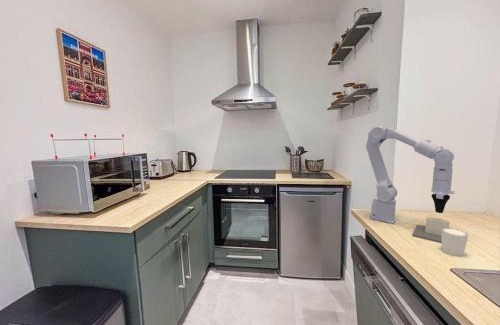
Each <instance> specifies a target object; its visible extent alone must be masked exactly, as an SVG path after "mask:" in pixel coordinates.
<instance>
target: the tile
mask: <svg viewBox="0 0 500 325" xmlns="http://www.w3.org/2000/svg"><path fill="white" fill-rule="evenodd" d="M450 222H451V220H448V219H443V218H442V219H441V218H436V217H430V216H426V218H425V232H427V233H431V234H436V235H440V236H441V229H443V228H450Z"/></svg>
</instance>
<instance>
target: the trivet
mask: <svg viewBox="0 0 500 325" xmlns="http://www.w3.org/2000/svg"><path fill="white" fill-rule="evenodd" d="M425 226H426V225H425ZM425 226H424V225H421V224H416V225H415V228H414V230H413V232H412V234H411V237H415V238H419V239H423V240H428V241H432V242H435V243H440V244H442V236H440V235H436V234H431V233H427V232H425Z"/></svg>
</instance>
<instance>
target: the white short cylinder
mask: <svg viewBox="0 0 500 325" xmlns="http://www.w3.org/2000/svg"><path fill="white" fill-rule="evenodd" d="M441 236H442V243H441V250H442V251H443V252H445V253H446V254H449V255H454V256H458V257H459V256H460V257H461V256H464V255H465V250H466V247H467V242H468V238H469V234H468V233H467V232H465V231H463V230H459V229H455V228H452V227H451V228H450V227H449V228H443V229H441Z"/></svg>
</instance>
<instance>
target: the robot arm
mask: <svg viewBox="0 0 500 325" xmlns="http://www.w3.org/2000/svg"><path fill="white" fill-rule="evenodd" d="M388 139H392V140H393V139H394V140H397V141H399V142H402V143H404V144H405V145H408V146H411V147H412V148H413V150H414V152H416V153H418V154H420V155H422V156H424V157H426V158H428V159H430V160H432V159H433V161H434V167H433V176H432V186H431V187H432V188H431V192H432V194H431V196H430V197H431V198H432V200H433V204H434V210H435V213H437V214H438V213H439V214H443V212H444V210H445V208H446V205H447V203H448V201H449V200H450V199H451V195H454V194H455V191H453V190H451V189H452V182H453V181H452V180H453V179H452V178H453V165H454V164H453V161H454V158H455V153H454V152H453V151H452V150H450V149H449V148H445V147H444V146H443V145H440V146H439V145H438V144H435V143H433V142H432V140H430V139H427V140H426V139H421V140H418V139H416V138H414V137H412V136H410V135H408V134H407V133H404V132H402V131H400V130H398V129H395V128H392V127H389V126H386V125H382V126H381V125H376V126H373V127H372V128H371V129H370V131H369V132H368V137H367V141H366V146H365V147H366V151H367V154H368V158H369V161H370V164H371V167H372V169H373V173H374V177H375V179H376V197H377V198H374V199H372V202H371V213H370V220H376V221H380V222H384V223H389V224H395V223H396V221H397V219H398V217H396V203H397V200H396V199H395V198H396V197H397V196H398V190H397V189H396V187H395V186H394V185H393V184H394V183H393V182H392V181H391V179H390V178H389V175H388V172H387V167H386V165H385V161H384V158H383V155H382V153H381V150H380V147H381V145H382V144H383V143H384V141H386V140H388Z"/></svg>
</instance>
